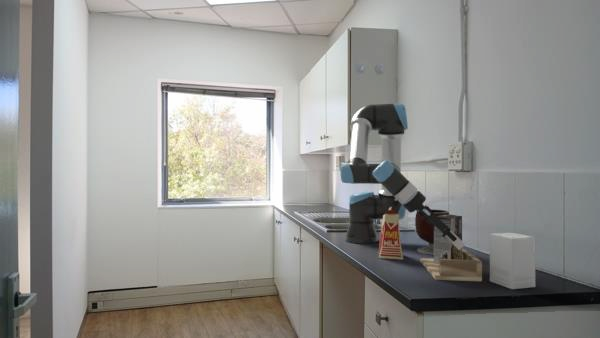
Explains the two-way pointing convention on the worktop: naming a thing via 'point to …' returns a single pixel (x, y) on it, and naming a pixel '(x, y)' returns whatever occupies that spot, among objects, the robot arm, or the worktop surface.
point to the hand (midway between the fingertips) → (456, 243)
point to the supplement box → (512, 260)
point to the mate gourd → (427, 231)
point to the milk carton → (390, 237)
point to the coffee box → (442, 244)
